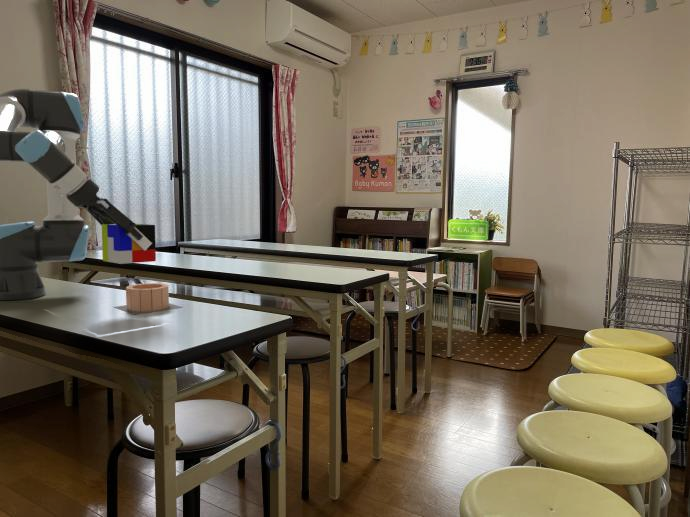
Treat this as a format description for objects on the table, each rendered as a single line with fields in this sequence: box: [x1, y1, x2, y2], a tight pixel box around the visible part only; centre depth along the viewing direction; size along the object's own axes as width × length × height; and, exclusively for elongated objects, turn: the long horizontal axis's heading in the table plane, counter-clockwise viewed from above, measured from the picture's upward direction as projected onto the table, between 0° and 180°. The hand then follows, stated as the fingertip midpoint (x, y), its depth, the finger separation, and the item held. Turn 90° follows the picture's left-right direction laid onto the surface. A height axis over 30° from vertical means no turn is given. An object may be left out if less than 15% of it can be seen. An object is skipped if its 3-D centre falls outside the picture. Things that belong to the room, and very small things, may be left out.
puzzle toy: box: [101, 223, 157, 265], centre depth 138 cm, size 10×10×10 cm
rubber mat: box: [113, 302, 184, 316], centre depth 143 cm, size 14×14×1 cm
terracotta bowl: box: [125, 282, 170, 312], centre depth 143 cm, size 11×11×6 cm
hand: (139, 245), depth 140 cm, fingers closed on puzzle toy, 10 cm apart
